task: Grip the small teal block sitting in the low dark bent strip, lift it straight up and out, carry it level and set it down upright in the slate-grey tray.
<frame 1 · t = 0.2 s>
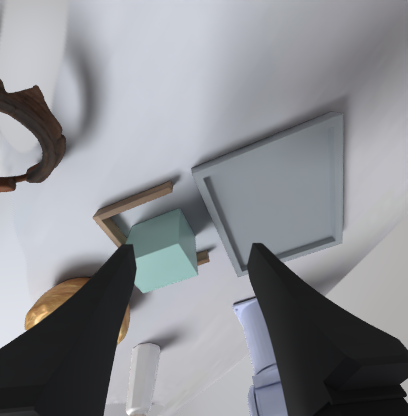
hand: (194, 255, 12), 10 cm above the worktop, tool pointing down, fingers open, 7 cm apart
teal block: (162, 248, 21), in the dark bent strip
grey tray: (272, 206, 23), on the worktop
salt shaker: (147, 348, 37), on the worktop
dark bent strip: (164, 231, 23), on the worktop
pastry: (93, 297, 29), on the worktop
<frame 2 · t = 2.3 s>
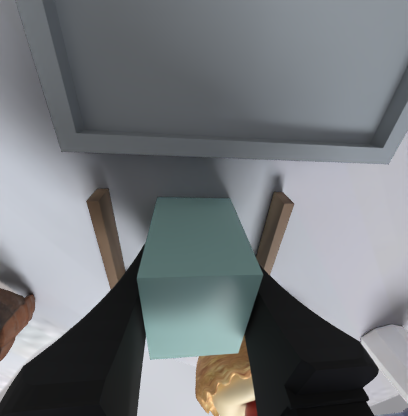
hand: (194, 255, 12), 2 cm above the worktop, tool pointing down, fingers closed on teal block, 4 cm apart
teal block: (194, 269, 11), in the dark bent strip, touching gripper
salt shaker: (379, 333, 24), on the worktop
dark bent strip: (192, 236, 13), on the worktop
pastry: (246, 337, 22), on the worktop
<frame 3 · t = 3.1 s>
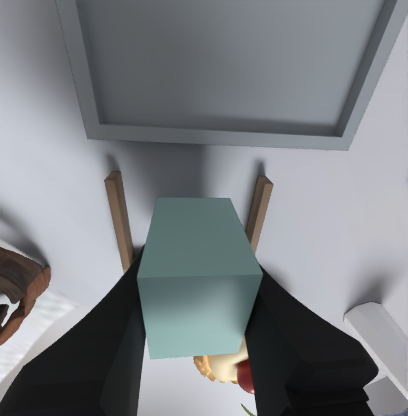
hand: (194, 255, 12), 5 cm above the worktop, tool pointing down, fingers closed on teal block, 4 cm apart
teal block: (194, 269, 11), point 6 cm above the worktop, touching gripper
salt shaker: (360, 311, 27), on the worktop
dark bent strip: (190, 214, 16), on the worktop
pastry: (240, 313, 24), on the worktop
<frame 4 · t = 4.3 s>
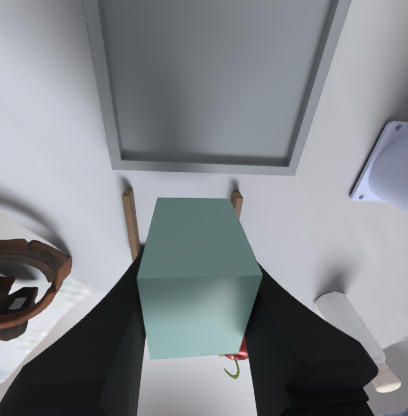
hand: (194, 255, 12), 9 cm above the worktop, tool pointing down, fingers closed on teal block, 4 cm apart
teal block: (194, 269, 11), point 10 cm above the worktop, touching gripper
grey tray: (213, 77, 15), on the worktop
salt shaker: (328, 300, 32), on the worktop
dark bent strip: (184, 219, 21), on the worktop
brown piece: (31, 261, 23), on the worktop
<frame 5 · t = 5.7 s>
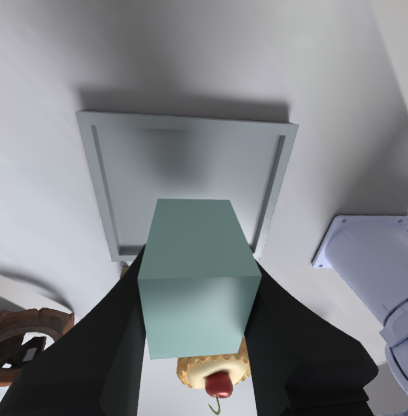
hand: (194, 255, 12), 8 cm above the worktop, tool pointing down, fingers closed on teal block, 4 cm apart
teal block: (194, 270, 11), point 9 cm above the worktop, touching gripper
grey tray: (190, 195, 19), on the worktop
pastry: (212, 338, 34), on the worktop
brown piece: (40, 315, 27), on the worktop
when the fingers open (4 cm above the worktop, at t = 7.0 s): teal block drops 1 cm, resting on grey tray.
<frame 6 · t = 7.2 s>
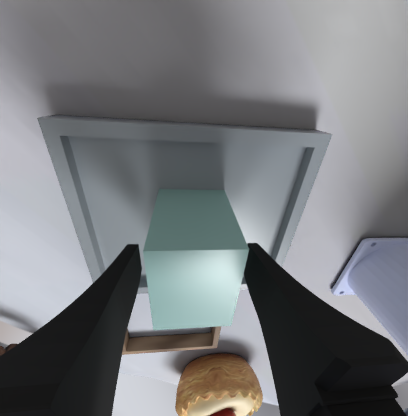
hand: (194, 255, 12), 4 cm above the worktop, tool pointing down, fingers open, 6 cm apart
teal block: (192, 252, 12), point 4 cm above the worktop, touching grey tray
grey tray: (191, 217, 15), on the worktop
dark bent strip: (170, 314, 22), on the worktop
pastry: (215, 365, 30), on the worktop
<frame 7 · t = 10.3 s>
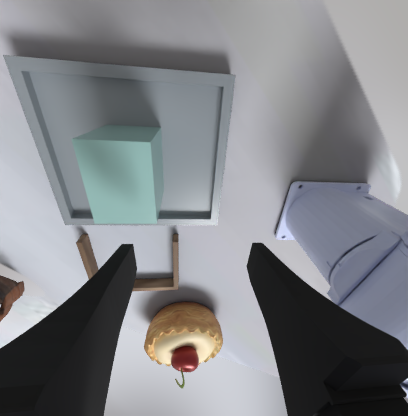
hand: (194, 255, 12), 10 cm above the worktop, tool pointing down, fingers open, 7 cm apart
teal block: (130, 171, 16), point 4 cm above the worktop, touching grey tray
grey tray: (140, 156, 19), on the worktop
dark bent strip: (134, 255, 25), on the worktop
pastry: (184, 316, 34), on the worktop
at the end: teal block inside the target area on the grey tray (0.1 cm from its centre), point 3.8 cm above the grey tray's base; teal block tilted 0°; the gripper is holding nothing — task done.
